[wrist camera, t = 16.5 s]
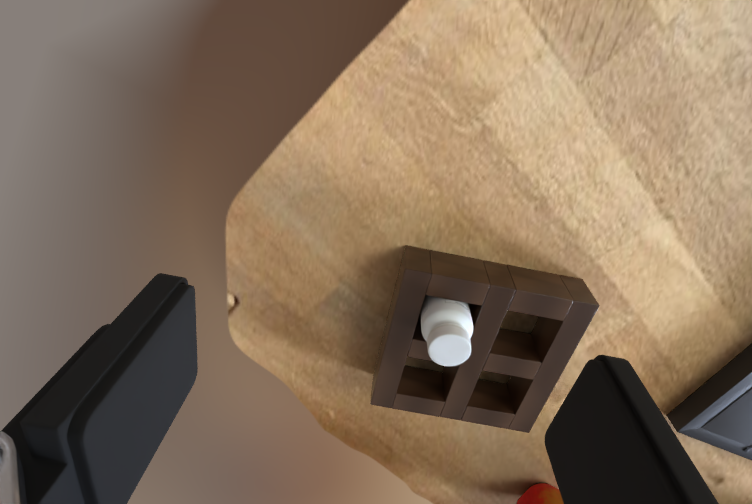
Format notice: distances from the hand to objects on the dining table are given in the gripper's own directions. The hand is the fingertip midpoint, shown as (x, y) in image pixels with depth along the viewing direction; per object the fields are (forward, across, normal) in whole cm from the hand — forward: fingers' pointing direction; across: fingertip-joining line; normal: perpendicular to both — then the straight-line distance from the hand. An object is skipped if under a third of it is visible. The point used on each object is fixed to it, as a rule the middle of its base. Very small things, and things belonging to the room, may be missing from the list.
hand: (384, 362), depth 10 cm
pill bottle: (+26, -8, +15) cm, 31 cm away
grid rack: (+26, -11, +19) cm, 34 cm away
